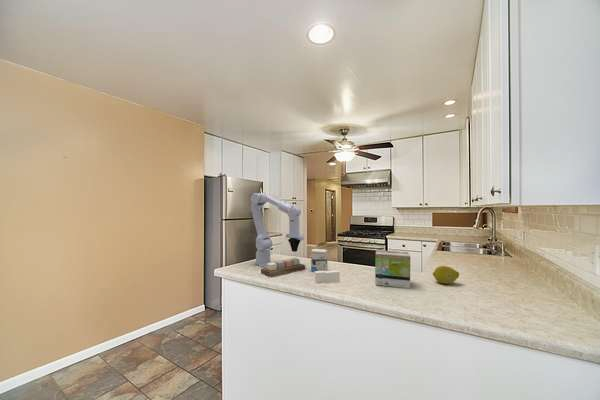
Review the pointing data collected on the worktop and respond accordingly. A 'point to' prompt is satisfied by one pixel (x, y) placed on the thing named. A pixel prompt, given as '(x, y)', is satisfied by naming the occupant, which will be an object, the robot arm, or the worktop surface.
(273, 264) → the white key
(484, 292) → the worktop surface
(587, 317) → the worktop surface
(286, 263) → the terracotta key
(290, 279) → the worktop surface
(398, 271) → the tea box
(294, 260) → the pale green block
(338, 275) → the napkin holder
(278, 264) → the grey key
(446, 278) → the lemon
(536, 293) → the worktop surface
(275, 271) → the brown wooden long tray
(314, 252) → the ink box
